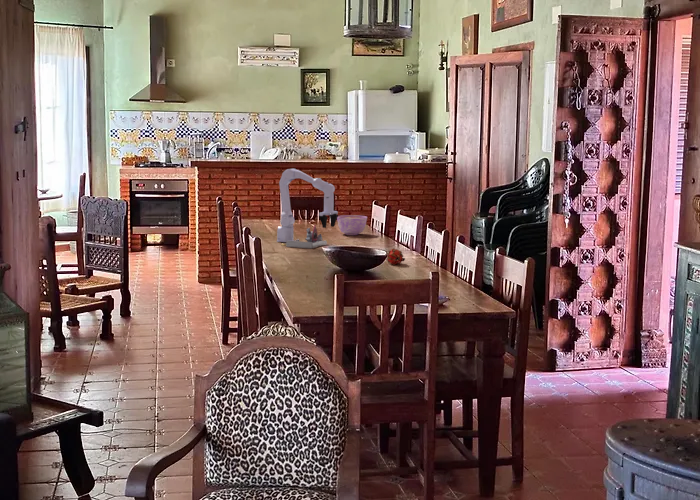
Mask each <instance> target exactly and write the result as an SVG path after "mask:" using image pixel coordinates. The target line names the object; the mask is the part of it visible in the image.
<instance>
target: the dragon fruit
mask: <svg viewBox="0 0 700 500" xmlns="http://www.w3.org/2000/svg"><path fill="white" fill-rule="evenodd" d="M405 260H406V258H405V257H404V255H403V252H402V251H401V250H399V249H397V248H391V249H390V250H389V251H387V263H388V264H389V263H390V264H391V265H393V266H395V265H400V264H402V262H405Z"/></svg>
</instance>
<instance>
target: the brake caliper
mask: <svg viewBox="0 0 700 500" xmlns="http://www.w3.org/2000/svg"><path fill="white" fill-rule="evenodd" d="M322 235H323V234H321V233H318V230H317V226H316V224H314V225H313V229H312V231H311V228H310V227H307V228H306V238H304V241H306V242H313V243H315V242H318V241H324V240H323V236H322Z"/></svg>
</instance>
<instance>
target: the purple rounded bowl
mask: <svg viewBox="0 0 700 500" xmlns="http://www.w3.org/2000/svg"><path fill="white" fill-rule="evenodd" d="M336 221H337V224H338V227H339V228H338V229H339V231H340V232H341V233H343V234H345V235H346V236H357V235H359V234H362V233H363V232H364V230H365V228H366V225H367V221H368V216H367V215H366V216H365V215H356V214H355V215H354V214H347V215H338V217H337V219H336Z"/></svg>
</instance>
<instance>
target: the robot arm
mask: <svg viewBox="0 0 700 500" xmlns="http://www.w3.org/2000/svg"><path fill="white" fill-rule="evenodd" d="M295 179H301V180H303V181H306V182H307V183H310V184H312V187H314V189H315V188H316V189H318V190H319V191H320V192H323V211H322V212H319V213H318V218H319V220H320V222H321V226H322V228H323V229H326V228H327V221H328V219H329V220H330V227H331V228H332V227H333V228H334V227H335V225H336V221H337V217H338V216H339V213H338V211H337V210H334V206H335V203H334V202H335V201H334V198H335V197H334V192H335V190H336V187H335V185H333V184H332V183H329V182H328V181H324V180H322V178H320V177H316V178H313V176H311V175H309V174H307V173H305V172H303V171H301V170H300V169H296V168H287V169H285V170H284V171H283V172H282V173H281V177H280V180H279V183H278V185H279V195H280V202H281V204H280V205H281V210H282V212H281V214H280V217H281V218H280V221H279V222H280V223H279V224H280V225H281V226H278V227H277V231H276V233H277V234H276V235H277V236H276V237H277V238H276V239H277V240H276V242H277V243H278V242H279V243H281V242H282V243H286V241H294V240H295V239H294V224H295V222H296V220H295V217H294V216H293V212H292V207H291V198H290V191H289V189H290V188H289V185H290V184H291V183H292V181H294V180H295Z"/></svg>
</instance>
